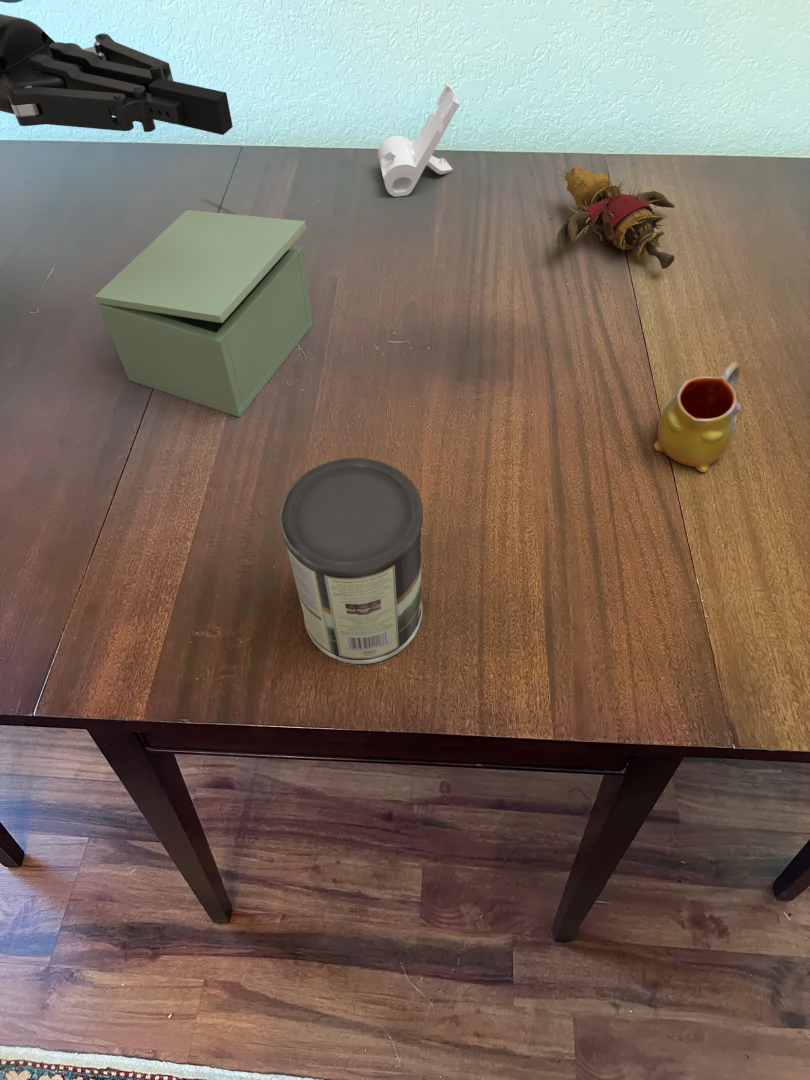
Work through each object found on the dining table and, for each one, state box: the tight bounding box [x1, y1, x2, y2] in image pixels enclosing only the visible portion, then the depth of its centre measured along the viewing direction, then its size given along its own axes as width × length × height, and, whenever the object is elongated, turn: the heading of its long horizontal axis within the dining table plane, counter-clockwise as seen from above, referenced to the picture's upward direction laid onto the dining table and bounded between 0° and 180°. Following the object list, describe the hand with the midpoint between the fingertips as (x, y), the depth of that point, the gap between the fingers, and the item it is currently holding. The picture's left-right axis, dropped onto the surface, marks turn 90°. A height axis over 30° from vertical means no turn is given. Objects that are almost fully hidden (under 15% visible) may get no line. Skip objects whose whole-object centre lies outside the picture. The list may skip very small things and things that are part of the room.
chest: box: [97, 244, 314, 418], centre depth 82 cm, size 14×16×10 cm
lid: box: [94, 209, 308, 323], centre depth 77 cm, size 15×16×1 cm
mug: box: [653, 361, 742, 473], centre depth 76 cm, size 12×7×7 cm, turn 139°
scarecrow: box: [546, 161, 676, 270], centre depth 95 cm, size 17×16×8 cm
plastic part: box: [377, 82, 460, 198], centre depth 102 cm, size 8×10×12 cm
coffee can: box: [278, 457, 424, 665], centre depth 61 cm, size 10×10×14 cm
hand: (224, 114), depth 63 cm, fingers closed
